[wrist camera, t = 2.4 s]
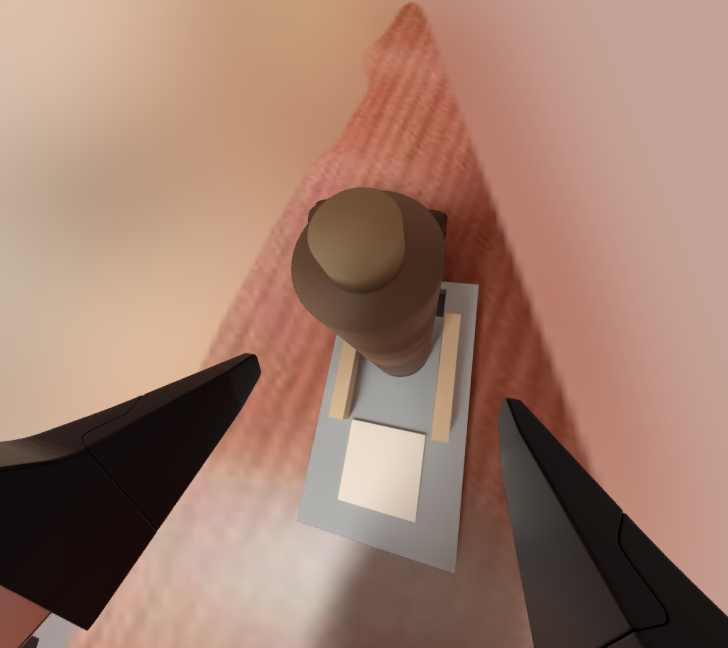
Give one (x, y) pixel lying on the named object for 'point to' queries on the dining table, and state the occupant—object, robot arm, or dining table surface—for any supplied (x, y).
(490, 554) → the dining table surface
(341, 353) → the board
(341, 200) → the pepper mill
